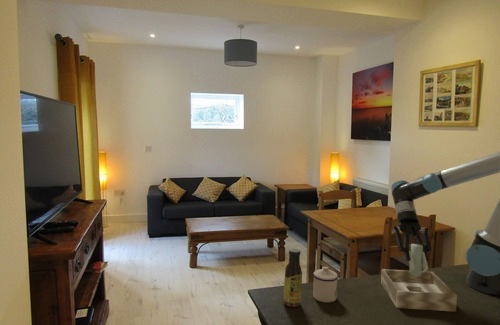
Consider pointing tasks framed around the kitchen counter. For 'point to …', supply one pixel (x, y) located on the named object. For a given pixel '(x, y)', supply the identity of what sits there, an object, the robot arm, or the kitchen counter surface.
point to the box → (418, 290)
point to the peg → (416, 258)
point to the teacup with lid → (325, 285)
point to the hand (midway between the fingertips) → (419, 269)
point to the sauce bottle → (293, 280)
